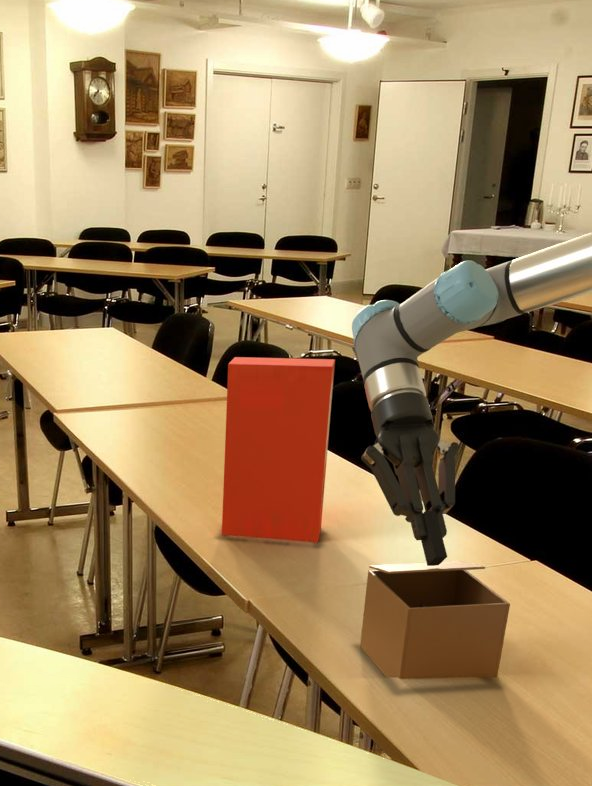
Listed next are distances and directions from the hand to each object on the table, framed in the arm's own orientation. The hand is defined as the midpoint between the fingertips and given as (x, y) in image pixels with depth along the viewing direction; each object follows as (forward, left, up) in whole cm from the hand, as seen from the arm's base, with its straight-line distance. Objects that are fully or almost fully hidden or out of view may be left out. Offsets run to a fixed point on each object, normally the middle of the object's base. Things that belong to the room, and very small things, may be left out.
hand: (437, 561), depth 116 cm
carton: (0, +1, -15) cm, 15 cm away
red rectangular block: (+5, -52, -15) cm, 55 cm away
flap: (0, -3, -2) cm, 3 cm away
